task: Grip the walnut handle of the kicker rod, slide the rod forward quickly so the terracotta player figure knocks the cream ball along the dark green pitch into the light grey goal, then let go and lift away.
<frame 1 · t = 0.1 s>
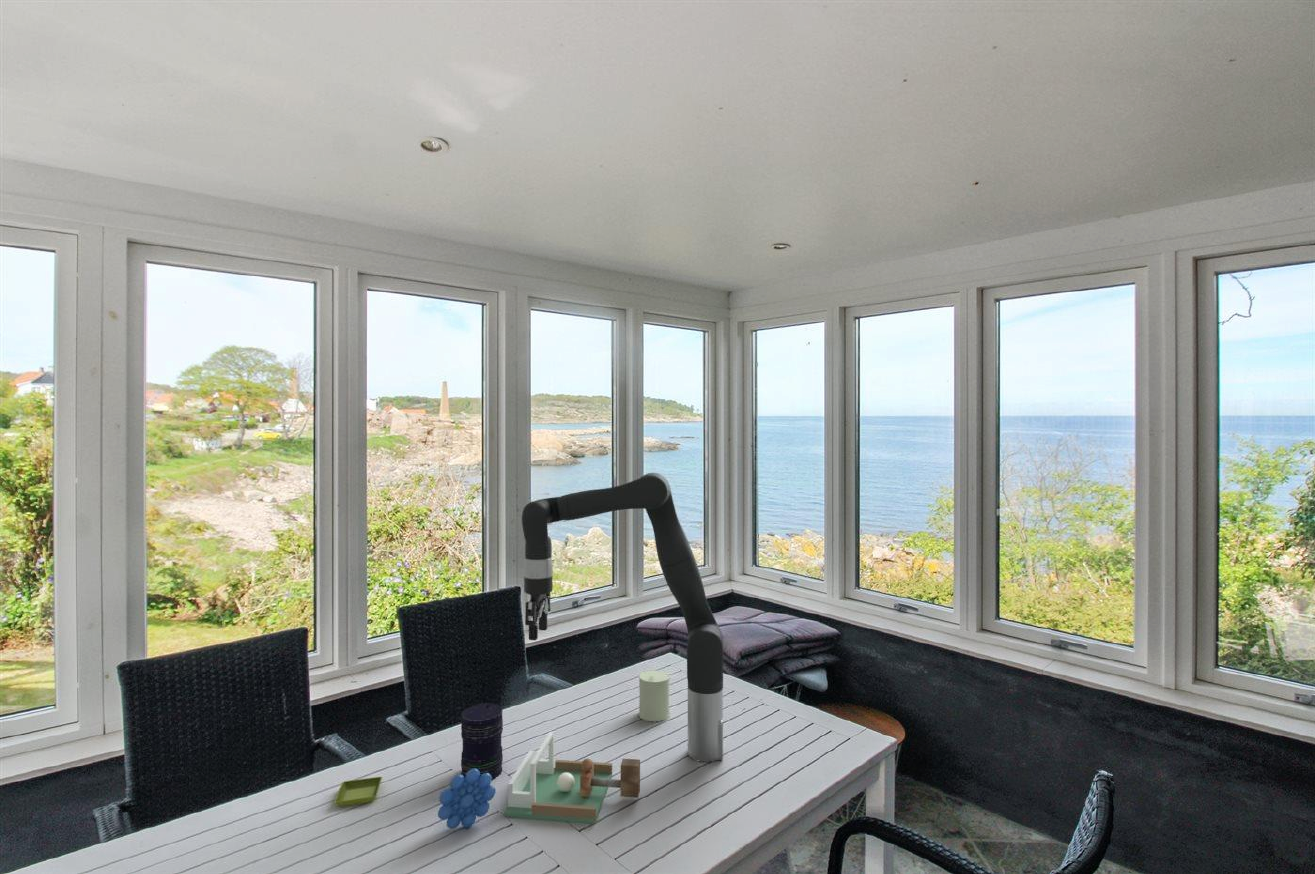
hand: (538, 634, 167), 29 cm above the table, tool pointing down, fingers open, 8 cm apart
pitch: (561, 794, 143), on the table
can: (654, 715, 185), on the table
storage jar: (482, 773, 152), on the table
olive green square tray: (358, 798, 142), on the table
kicker: (610, 776, 141), point 5 cm above the table, slide at 0.0 cm
ball: (565, 782, 143), point 3 cm above the table, touching pitch
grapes: (466, 825, 132), on the table
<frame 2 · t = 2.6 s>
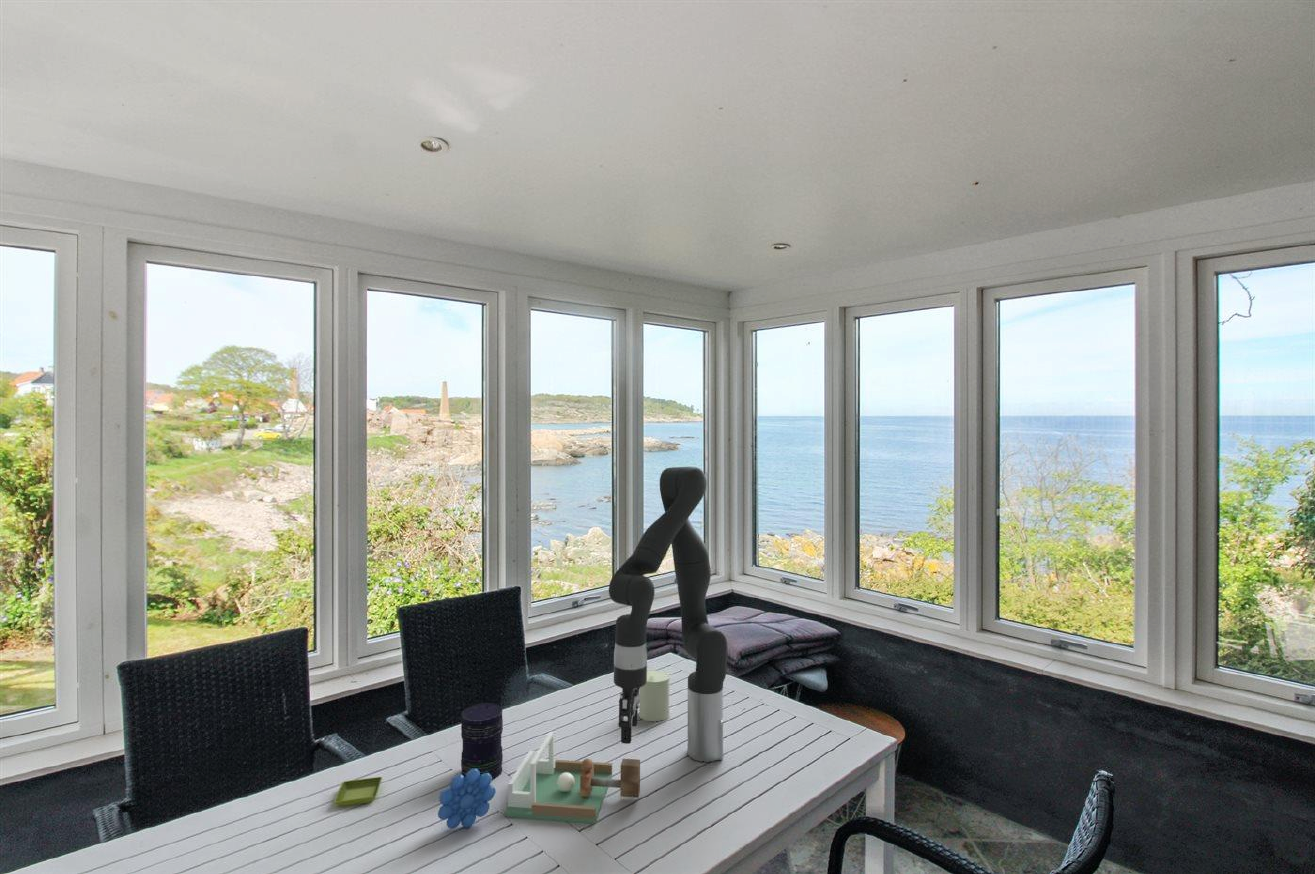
hand: (629, 733, 141), 15 cm above the table, tool pointing down, fingers open, 8 cm apart
nothing on the table moved.
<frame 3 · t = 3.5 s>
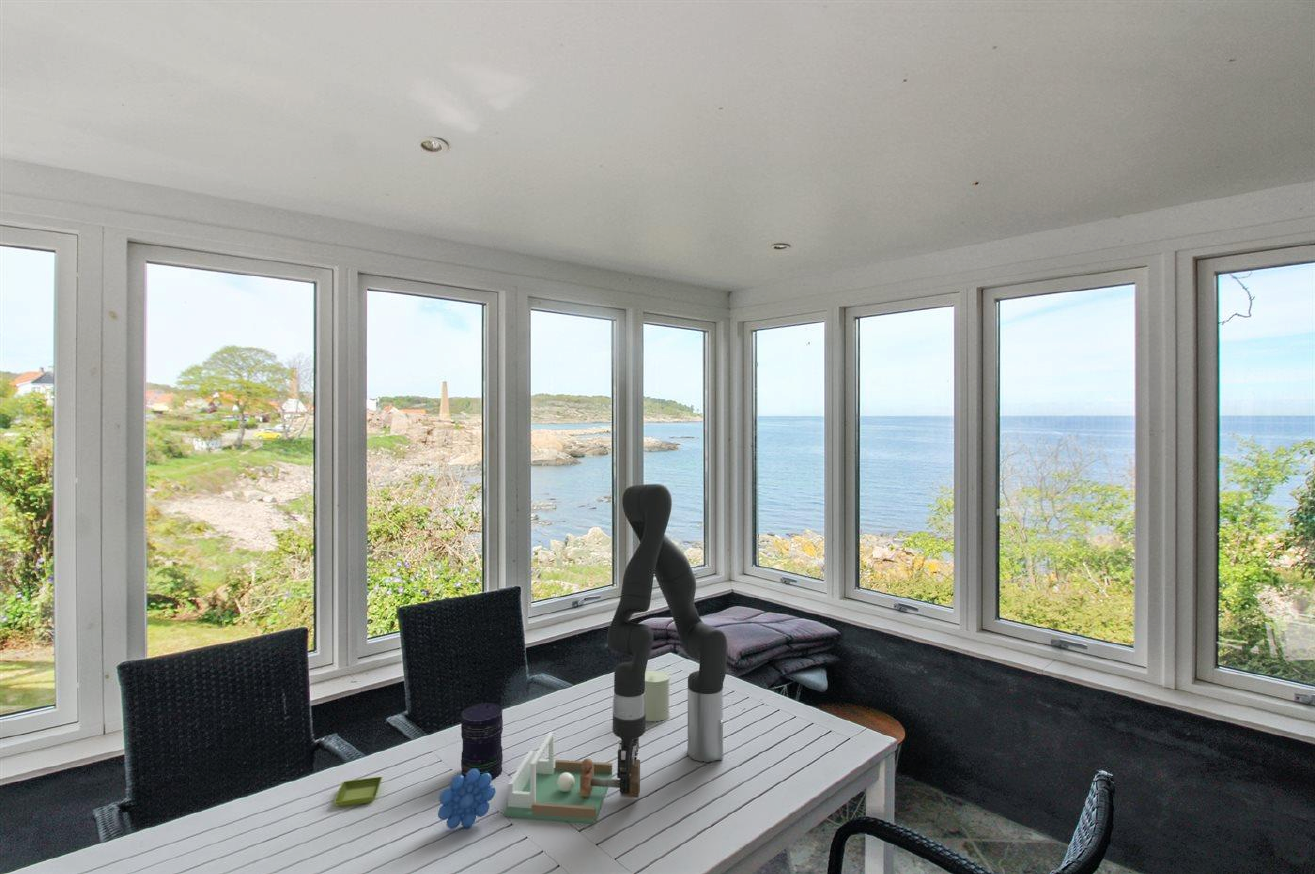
hand: (628, 782, 141), 4 cm above the table, tool pointing down, fingers open, 8 cm apart
nothing on the table moved.
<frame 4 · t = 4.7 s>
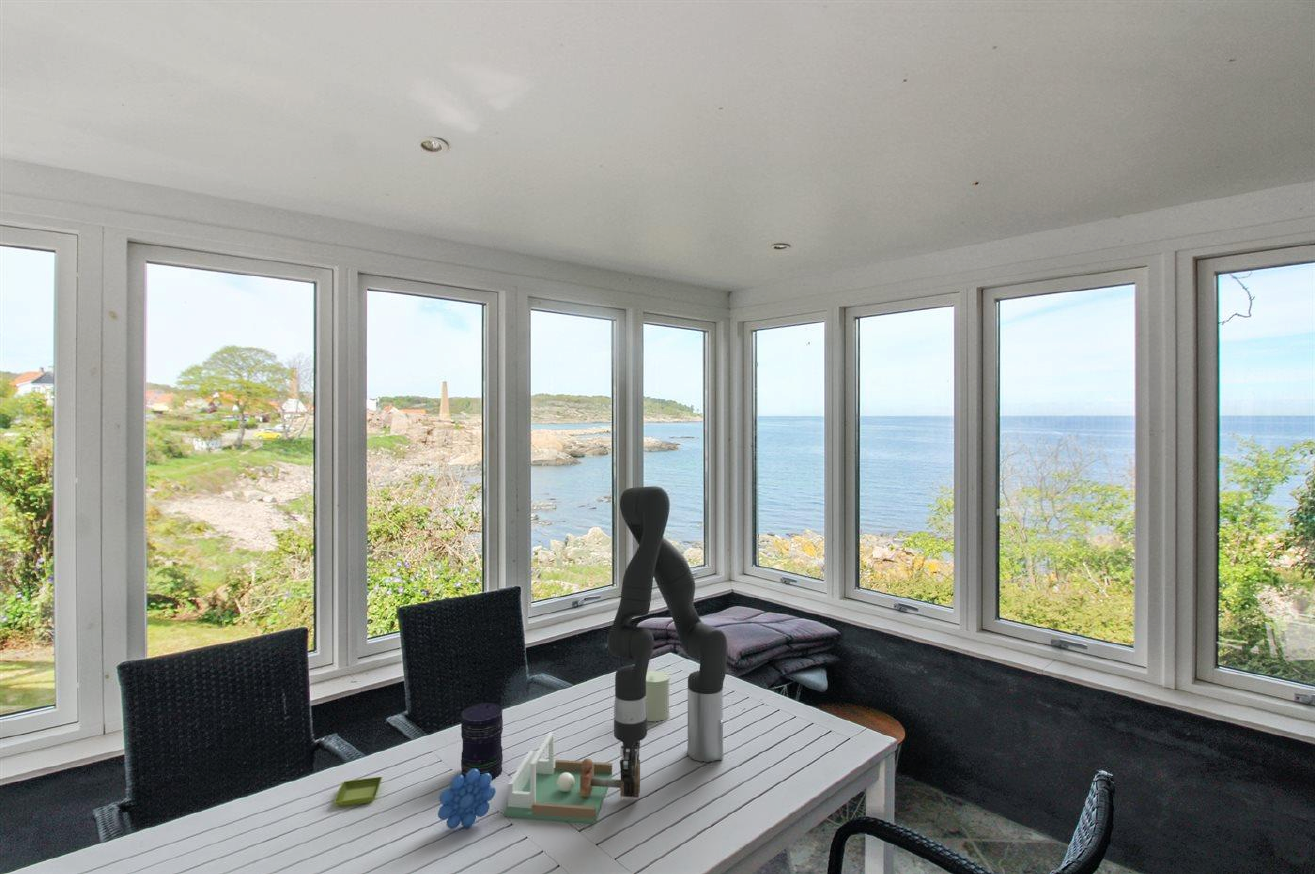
hand: (630, 790, 141), 2 cm above the table, tool pointing down, fingers closed on kicker, 3 cm apart
kicker: (610, 776, 141), point 5 cm above the table, slide at 0.0 cm, touching gripper
everything else where it was.
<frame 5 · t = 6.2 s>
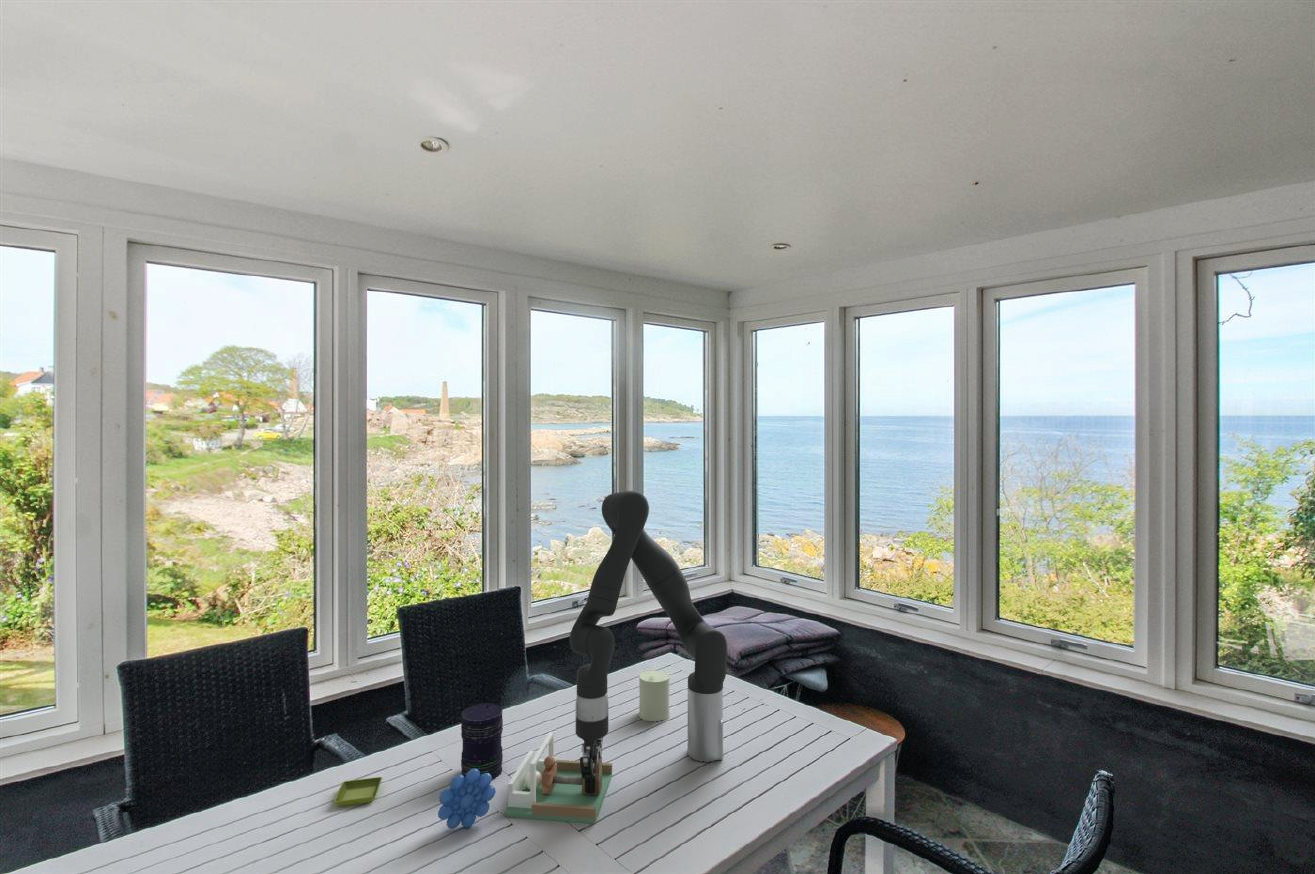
hand: (592, 787, 142), 2 cm above the table, tool pointing down, fingers closed on kicker, 3 cm apart
kicker: (572, 773, 142), point 5 cm above the table, slide at 8.9 cm, touching gripper
ball: (533, 779, 144), point 3 cm above the table, tilted 147°, touching pitch
everything else where it was.
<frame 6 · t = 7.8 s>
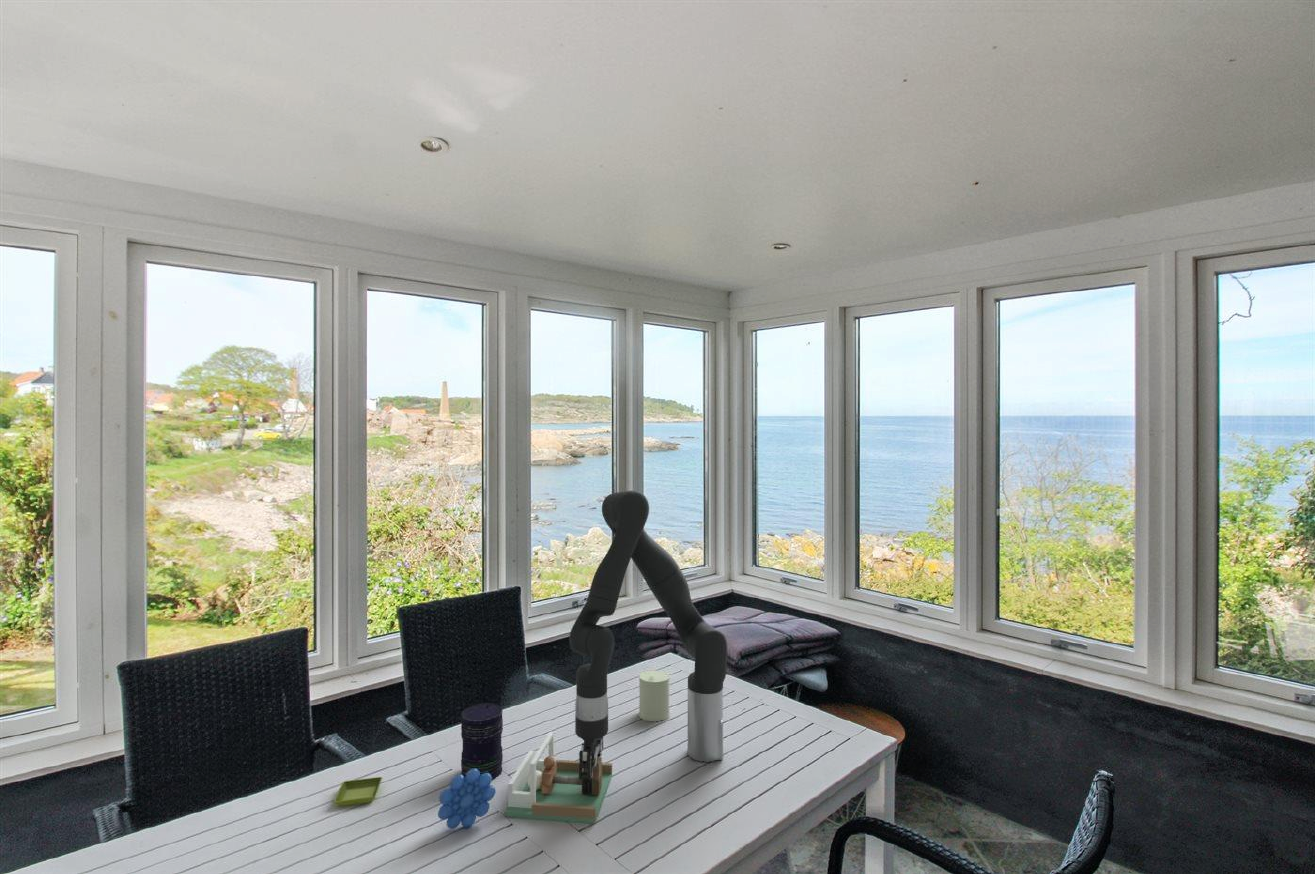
hand: (591, 782, 142), 3 cm above the table, tool pointing down, fingers open, 8 cm apart
kicker: (571, 773, 142), point 5 cm above the table, slide at 8.9 cm
ball: (536, 780, 143), point 3 cm above the table, tilted 168°, touching pitch
everything else where it was.
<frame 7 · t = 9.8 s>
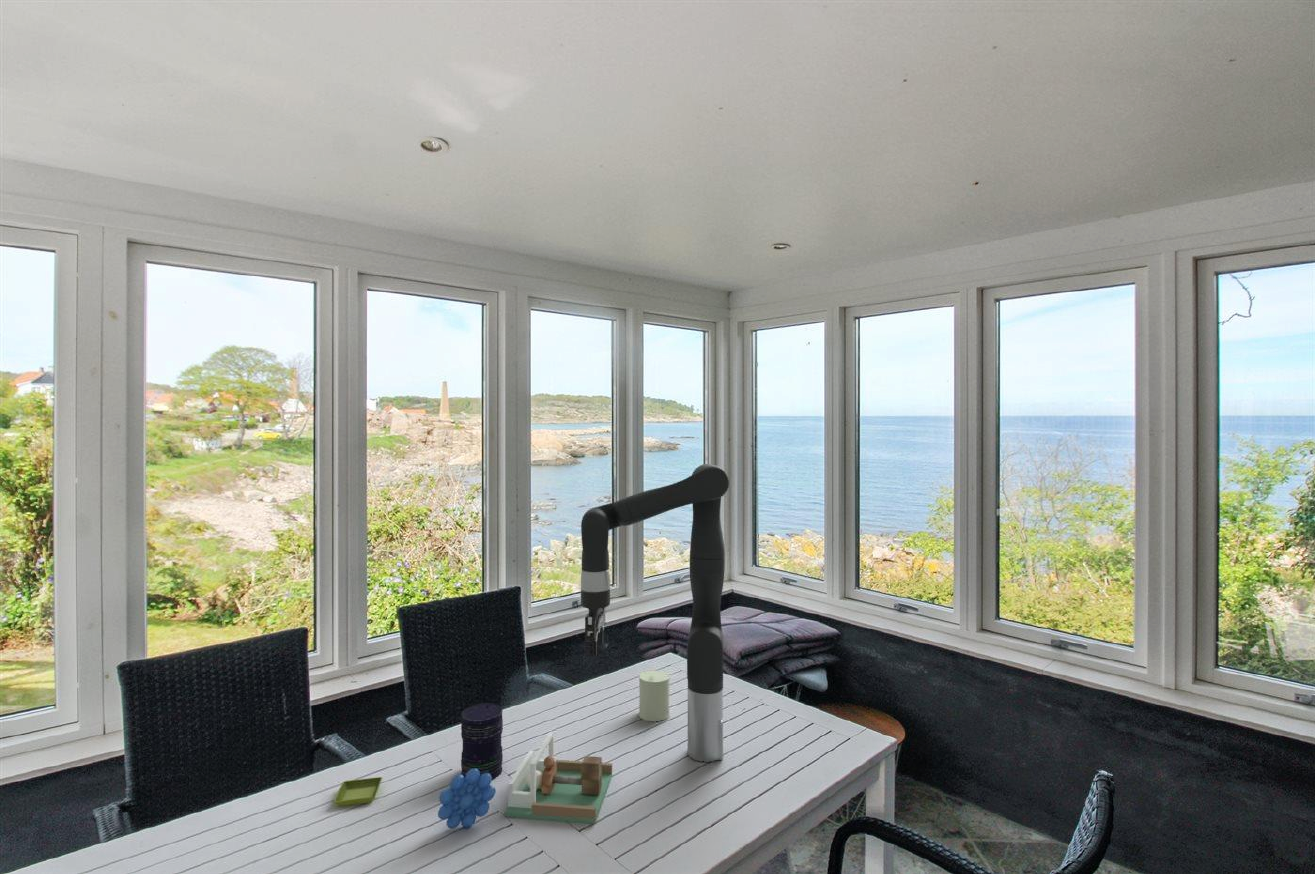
hand: (595, 650, 159), 28 cm above the table, tool pointing down, fingers open, 8 cm apart
ball: (535, 779, 144), point 3 cm above the table, tilted 162°, touching pitch
everything else where it was.
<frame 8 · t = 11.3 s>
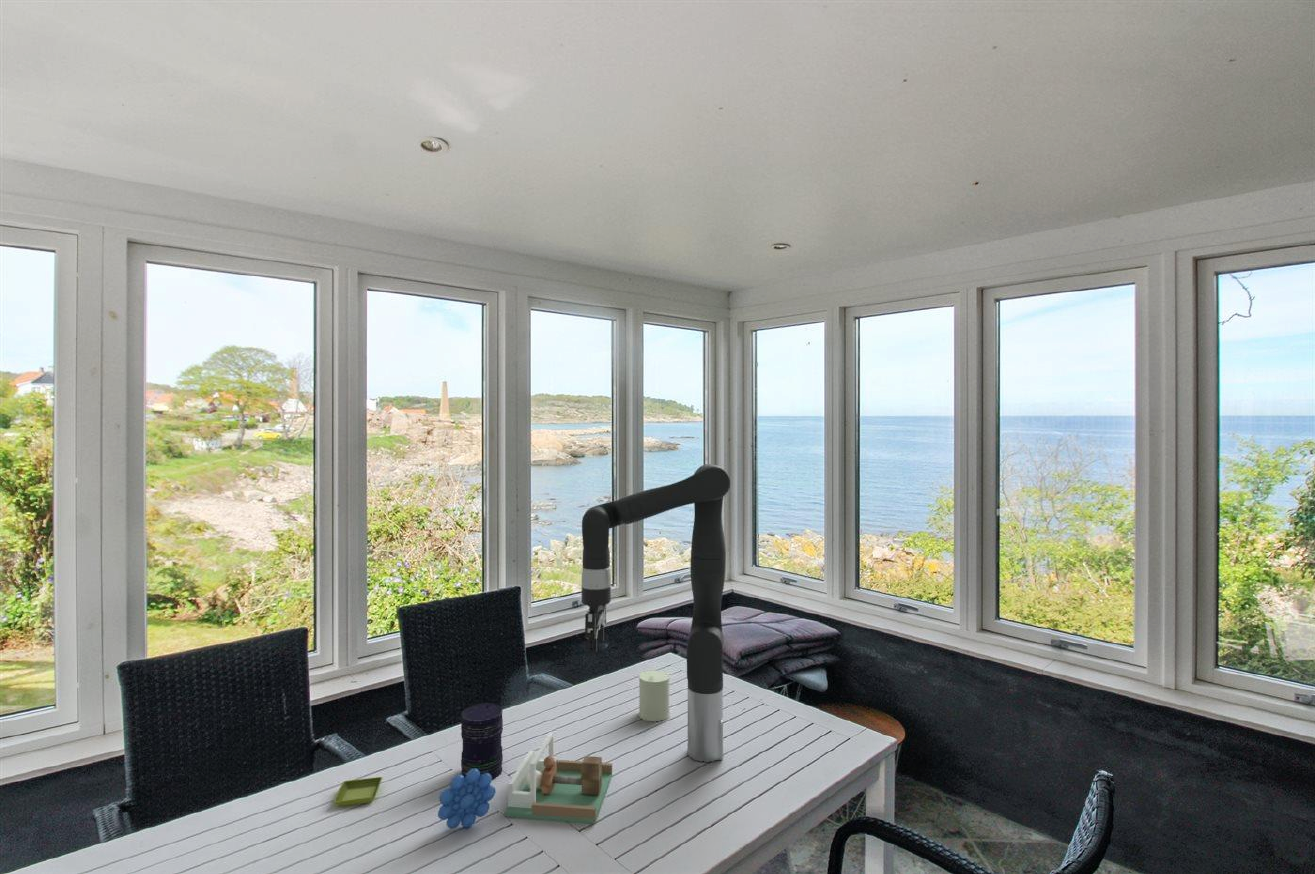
hand: (595, 647, 160), 28 cm above the table, tool pointing down, fingers open, 8 cm apart
nothing on the table moved.
at the end: ball inside the target area (0.2 cm from its centre), point 3.0 cm above the table; kicker slide at 8.9 cm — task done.
